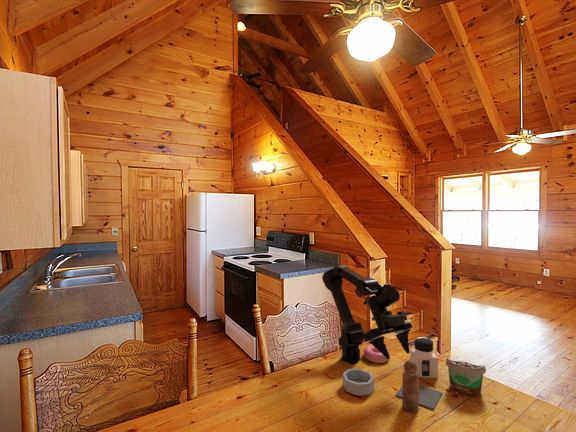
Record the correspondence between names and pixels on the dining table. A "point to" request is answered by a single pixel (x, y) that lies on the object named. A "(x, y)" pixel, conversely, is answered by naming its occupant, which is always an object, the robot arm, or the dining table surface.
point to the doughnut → (374, 355)
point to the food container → (465, 377)
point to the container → (424, 358)
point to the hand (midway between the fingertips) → (398, 356)
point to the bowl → (358, 381)
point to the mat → (426, 397)
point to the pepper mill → (410, 387)
